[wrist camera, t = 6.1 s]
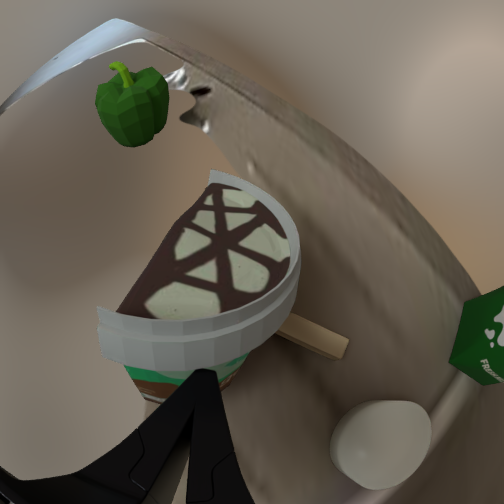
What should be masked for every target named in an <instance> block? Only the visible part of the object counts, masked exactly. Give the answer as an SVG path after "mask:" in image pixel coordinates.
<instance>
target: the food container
mask: <svg viewBox="0 0 504 504" xmlns="http://www.w3.org/2000/svg"><path fill="white" fill-rule="evenodd" d="M300 269H301V249H300V244H299V235H298V232H297V228H296V225H295V223H294V222H293V220H292V218H291V217H290V215H289V214H288V212H287V211H286V210H285V209H284V208H283V206H282V205H281V204H280V203H279V202H277V201H276V200H275V199H274V198H273V197H272V196H270V195H269V194H268V193H266V192H265V191H263V190H262V189H260V188H258V187H257V186H255V185H253V184H251V183H249V182H247V181H245V180H243V179H241V178H238V177H236V176H233V175H230V174H227V173H224V172H221V171H217V170H214V169H211V172H210V177H209V183H208V187H206V189H205V191H204V192H203V194H202V195H201V196H200V198H199V199H198V200H197V201H196V202H195V204H194V205H193V206H192V207H190V208H189V209H188V210H187V211H186V212H185V213H184V214H183V215H182V216H181V217H180V218H179V219H178V220H177V221H176V222H175V223H174V224H173V226H172V227H171V229H170V230H169V232H168V233H167V235H166V236H165V238H164V240H163V241H162V243H161V245H160V246H159V248H158V250H157V251H156V252H155V254H154V256H153V257H152V259H151V260H150V262H149V264H148V265H147V267H146V268H145V270H144V271H143V273H142V274H141V275H140V277H139V278H138V280H137V281H136V283H135V284H134V286H133V287H132V288H131V290H130V292H129V293H128V294H127V296H126V297H125V299H124V300H123V302H122V303H121V305H120V306H119V308H118V309H117V311H116V312H114V311H111V310H108V309H106V308H103V307H100V306H97V311H98V315H99V318H100V324H99V325H98V326H97V331H98V336H99V342H100V348H101V353H102V357H104V358H107V359H110V360H112V361H115V362H118V363H121V364H123V365H124V367H125V368H126V370H127V372H128V373H129V375H130V377H131V378H132V380H133V382H134V383H135V385H136V387H137V388H138V389H139V391H140V393H141V394H142V396H143V397H144V399H145V400H148V401H151V402H155V403H158V404H162V403H163V402H164V401H165V400H166V399H167V398H168V397H169V396H170V395H171V394H172V393H173V392H174V391H175V390H176V389H177V388H178V387H179V386H180V385H181V384H182V383H183V382H184V381H185V380H186V379H187V378H188V377H189V376H190V374H191V373H192V372H193V371H194V370H195V369H200V368H205V369H210V370H215V371H216V372H217V376H218V381H219V386H220V391H222V390H223V389H225V388H226V387H227V386H229V385H230V383H231V382H232V380H233V379H234V377H235V376H236V374H237V372H238V371H239V369H240V367H241V366H242V364H243V362H244V361H245V359H246V357H247V356H248V354H249V352H250V351H251V350H253V349H255V348H256V347H258V346H260V345H261V344H262V343H264V342H265V341H266V340H267V339H268V338H269V337H270V336H272V335H273V334H274V333H275V332H276V331H277V330H278V329H279V328H280V326H281V325H282V324H283V322H284V321H285V320H286V318H287V317H288V315H289V313H290V311H291V309H292V307H293V304H294V302H295V299H296V294H297V288H298V282H299V276H300Z"/></svg>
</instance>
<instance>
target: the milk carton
mask: <svg viewBox="0 0 504 504" xmlns="http://www.w3.org/2000/svg"><path fill="white" fill-rule="evenodd" d="M449 363H450V364H452V365H453V366H455V367H456V368H458V369H459V370H461V371H462V372H464V373H465V374H467V375H468V376H470V377H471V378H473V379H474V380H476V381H477V382H479V383H480V384H482V385H489V384H495V383H500V382H504V286H502V287H500V288H498V289H496V290H494V291H491V292H489V293H487V294H484V295H482V296H479V297H477V298H474V299H472V300H469V301H466V302H464V307H463V312H462V316H461V321H460V325H459V329H458V333H457V336H456V340H455V344H454V347H453V350H452V354H451V357H450V360H449Z"/></svg>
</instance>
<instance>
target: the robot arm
mask: <svg viewBox="0 0 504 504" xmlns="http://www.w3.org/2000/svg"><path fill="white" fill-rule="evenodd" d="M189 454H190V455H189ZM188 457H189V466H188V479H187V492H186V504H255V503H254V501H253V499H252V496H251V494H250V492H249V490H248V488H247V486H246V484H245V481H244V479H243V477H242V474H241V471H240V468H239V465H238V461H237V458H236V454H235V452H234V446H233V442H232V438H231V434H230V430H229V426H228V422H227V418H226V413H225V409H224V404H223V400H222V395H221V391H220V386H219V381H218V376H217V372H216V371H215V370H210V369H205V368H200V369H195V370H194V371H193V372H192V373H191V374H190V376H189V377H188V378H187V379H186V380H185V381H184V382H183V383H182V384H181V385H180V386H179V387H178V388H177V389H176V390H175V391H174V392H173V393H172V394H171V395H170V396H169V397H168V398H167V399H166V400H165V401H164V402H163V403H162V404H161V405H160V406H159V407H158V408H157V409H156V410H155V411H154V412H153V413H152V414H151V415H150V416H149V417H148V418H147V419H146V420H145V421H144V422H143V423H141V424H140V426H139V427H138V429H137V428H136V429H135V430H134V431H133V432H132V433H131V434H130V435H129V436H128V437H127V438H125V439H124V440H123V441H122V442H121V443H120V444H118V445H117V446H116V447H114V448H113V449H112V450H110V451H109V452H107V453H106V454H104V455H103V456H101V457H100V458H98V459H97V460H95V461H94V462H92V463H91V464H89V465H88V466H86V467H85V468H83V469H81V470H79V471H77V472H74V473H71V474H68V475H62V476H56V477H51V478H43V479H36V480H19V479H18V478H16V477H15V476H13V475H12V474H11V473H9V472H8V471H6V470H5V469H4V468H2V467H1V466H0V504H171V503H172V501H173V498H174V495H175V492H176V490H177V487H178V484H179V482H180V479H181V476H182V473H183V471H184V468H185V465H186V463H187V460H188Z"/></svg>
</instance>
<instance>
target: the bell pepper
mask: <svg viewBox="0 0 504 504" xmlns="http://www.w3.org/2000/svg"><path fill="white" fill-rule="evenodd" d="M109 68H110V69H112V70H118V71H119V73H118V74H117V75H115V76H114V77H113V78H112V79H111V80H110V81H109V82H108V83H104V84H100V85H98V90H97V95H96V101H95V105H96V107H97V110H98V114H99V116H100V119H101V122H102V124H103V125H104V126H105V128H106V129H107V130H108V132H109V133H110V134H111V135H112V136H113V138H114V139H115V140H116V141H117V142H118V143H119V144H121V145H123V146H126V147H137V146H141V145H145V144H146V143H148V142H149V141H151V140H152V139H153V137H154V134H157V133H159V132H160V131H161V130H162V129H163V128H164V126H165V124H166V120H167V114H168V105H169V91H168V83H167V82H166V80H165V79H164V77H163V76H162V75H161V74H160V73H159V72H157V71H156V70H155V69H154V68H153V67H150V68H146V69H143V70H141V71H139V72H138V73H133V72H129V71H128V68H127V67H126V66H125V65H124V64H123V63H121V62H114V63H112V64H110V66H109Z"/></svg>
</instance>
